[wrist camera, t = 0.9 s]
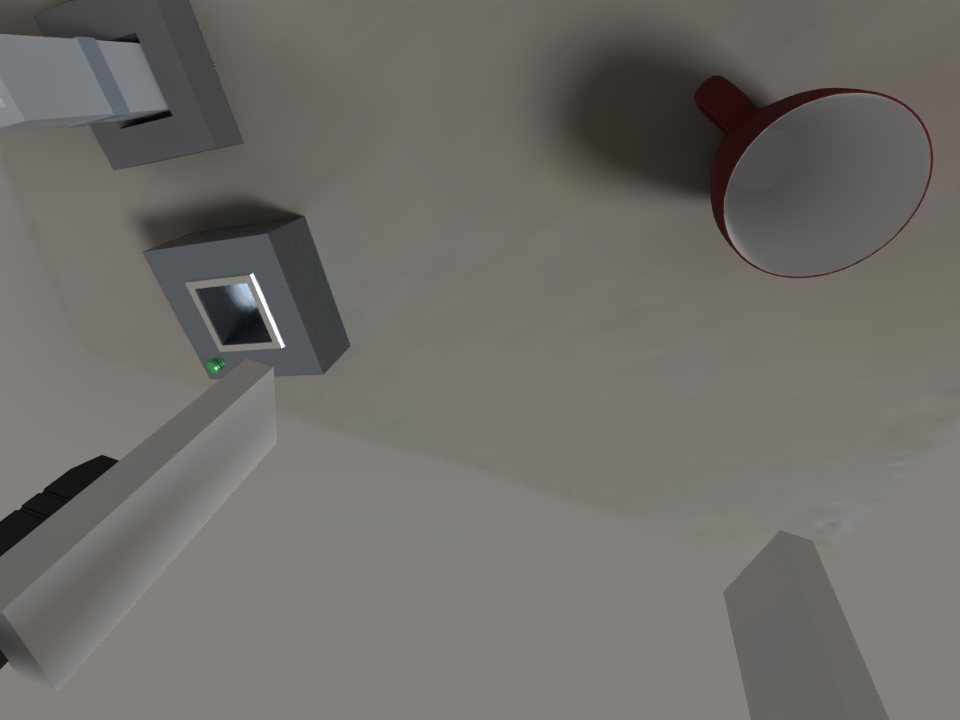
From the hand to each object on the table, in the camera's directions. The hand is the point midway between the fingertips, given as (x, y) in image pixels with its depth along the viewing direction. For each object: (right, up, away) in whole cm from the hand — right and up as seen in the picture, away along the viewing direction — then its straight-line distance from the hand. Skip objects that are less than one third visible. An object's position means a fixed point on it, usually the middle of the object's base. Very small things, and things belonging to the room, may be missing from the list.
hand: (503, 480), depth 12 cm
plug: (-25, +24, +23) cm, 41 cm away
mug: (+16, +16, +17) cm, 29 cm away
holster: (-25, +24, +23) cm, 41 cm away
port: (-20, +9, +31) cm, 38 cm away
